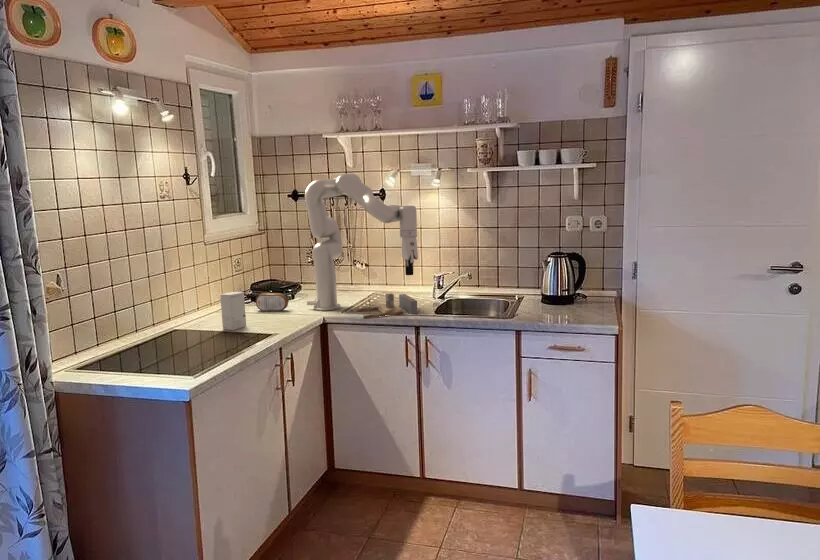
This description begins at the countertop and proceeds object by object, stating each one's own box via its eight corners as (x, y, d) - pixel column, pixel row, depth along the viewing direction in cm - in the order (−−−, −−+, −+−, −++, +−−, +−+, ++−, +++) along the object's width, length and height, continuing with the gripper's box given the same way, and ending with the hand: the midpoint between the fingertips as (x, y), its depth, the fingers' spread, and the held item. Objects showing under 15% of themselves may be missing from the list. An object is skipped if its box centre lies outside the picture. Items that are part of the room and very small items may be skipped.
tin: (288, 310, 297) (287, 292, 295) (287, 311, 294) (285, 293, 292) (257, 310, 298) (256, 292, 297) (255, 311, 295) (254, 294, 294)
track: (363, 318, 275) (363, 315, 275) (356, 311, 289) (356, 309, 289) (403, 314, 280) (403, 312, 280) (394, 308, 294) (394, 305, 294)
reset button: (409, 306, 283) (408, 299, 282) (407, 305, 285) (407, 298, 284) (413, 305, 283) (413, 298, 283) (412, 305, 285) (411, 298, 285)
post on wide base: (384, 314, 280) (384, 297, 278) (378, 309, 290) (377, 292, 289) (402, 313, 282) (401, 295, 281) (395, 308, 292) (394, 291, 291)
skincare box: (232, 330, 259) (229, 295, 257) (222, 329, 262) (219, 294, 260) (247, 326, 266) (244, 291, 264) (236, 325, 269) (234, 290, 267)
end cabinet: (410, 314, 279) (410, 301, 278) (399, 307, 296) (399, 294, 295) (417, 314, 280) (417, 300, 279) (405, 306, 297) (405, 293, 296)
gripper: (421, 234, 273) (422, 276, 276) (411, 232, 287) (412, 272, 290) (405, 235, 271) (406, 278, 274) (395, 232, 285) (396, 273, 288)
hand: (409, 274), depth 282 cm, fingers closed
